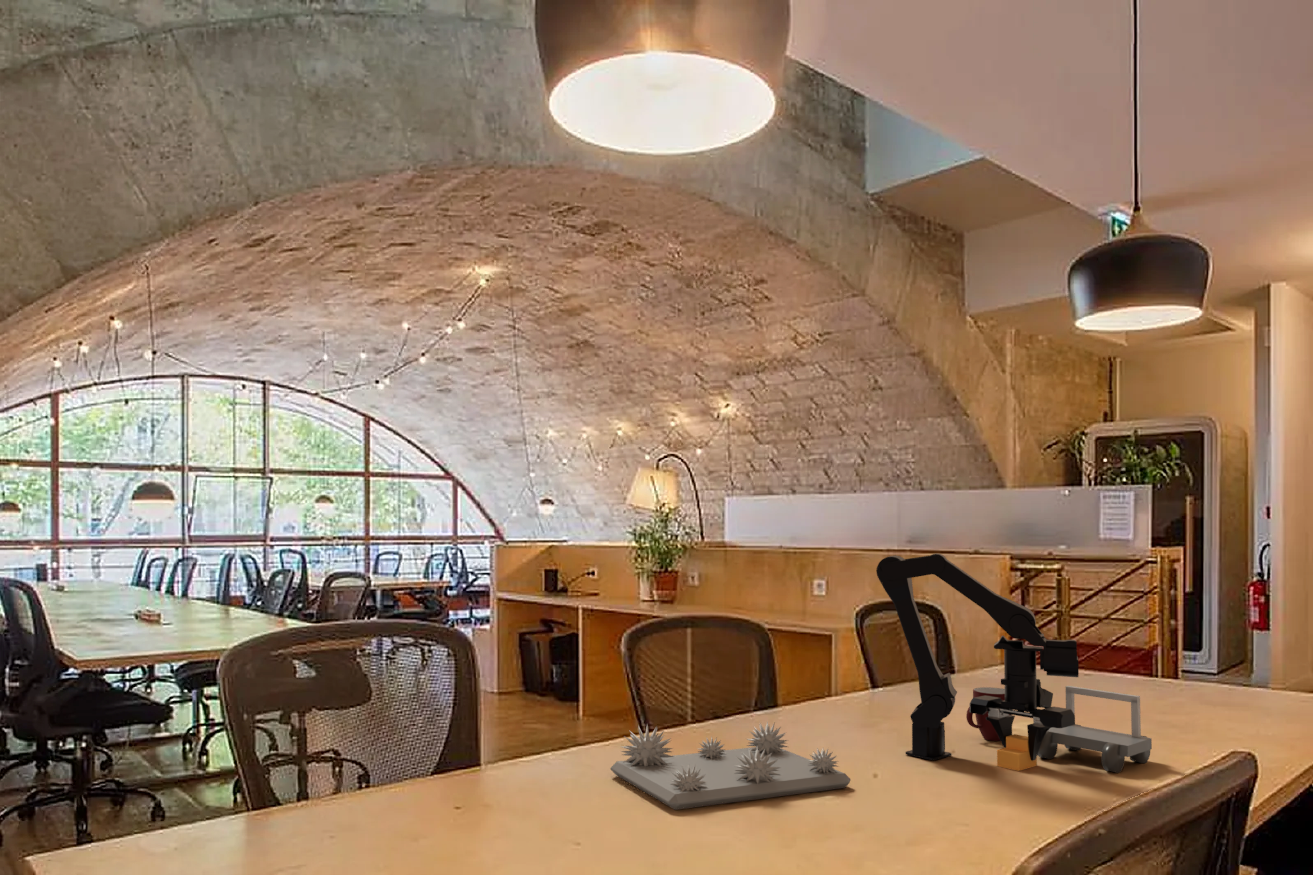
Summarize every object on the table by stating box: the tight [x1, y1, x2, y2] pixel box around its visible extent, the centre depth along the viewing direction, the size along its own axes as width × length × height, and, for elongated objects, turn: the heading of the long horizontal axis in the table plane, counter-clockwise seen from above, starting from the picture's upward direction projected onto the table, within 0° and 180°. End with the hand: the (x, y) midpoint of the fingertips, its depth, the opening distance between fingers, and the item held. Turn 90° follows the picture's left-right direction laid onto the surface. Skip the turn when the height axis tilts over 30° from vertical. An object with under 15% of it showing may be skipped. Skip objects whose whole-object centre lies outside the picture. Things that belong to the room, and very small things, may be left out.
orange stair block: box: [996, 734, 1038, 772], centre depth 192 cm, size 6×4×5 cm
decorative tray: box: [609, 720, 851, 811], centre depth 179 cm, size 35×26×10 cm
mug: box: [965, 686, 1011, 742], centre depth 214 cm, size 10×8×10 cm
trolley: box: [1037, 685, 1152, 774], centre depth 197 cm, size 16×18×13 cm
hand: (1021, 757), depth 193 cm, fingers closed on orange stair block, 4 cm apart
